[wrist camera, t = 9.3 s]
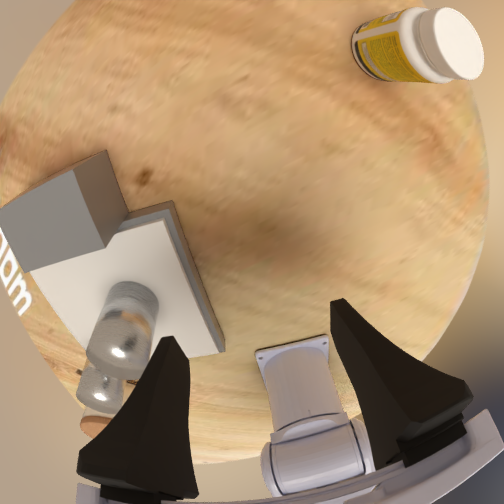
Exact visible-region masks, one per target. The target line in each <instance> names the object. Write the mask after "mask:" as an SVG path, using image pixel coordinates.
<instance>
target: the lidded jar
mask: <svg viewBox="0 0 504 504" xmlns="http://www.w3.org/2000/svg"><path fill="white" fill-rule="evenodd" d="M135 386H136V385H134V384H131V383H128V382H126V387H125V392H124V398H123V403H122V406H123V405H124V403H125V402H126V400H127V399H128V397H129V396H130V394H131V393H132V391H133V389H134V388H135ZM115 415H116V414H106V413H102V412H98V411H96V410H93V409H91V408H89V407H87V406H86V407H85V410H84V413H83V418H82V420H81V423H80V427H81V430H82V431H83V432H84V433H85V434H87V435H88V436H89V437H91V438H93V439H94V438H95V437H96V436H97V435H98V434H99V433H100V432H101V431H102V430H103V429H104V428H105V427H106V426H107V425H108V424H109V422H110V421H111V420H112V419H113V417H114V416H115Z"/></svg>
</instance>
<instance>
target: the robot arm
mask: <svg viewBox="0 0 504 504" xmlns="http://www.w3.org/2000/svg"><path fill="white" fill-rule="evenodd" d="M330 331H331V334H332V337H333V340H334V343H335V347H336V350H337V352H338V354H339V356H340V359H341V361H342V363H343V365H344V367H345V370H346V372H347V374H348V376H349V378H350V381H351V383H352V385H353V387H354V390H355V392H356V395H357V398H358V401H359V405H360V408H361V411H362V415H363V418H364V422H365V425H364V424H363V422H362V421H361V420H358V419H357V418H352V419H350V422H349V419H348V416H347V413H346V412H344V410H343V407H342V404H341V401H340V398H339V395H338V392H337V389H336V386H335V383H334V380H333V377H332V374H331V372H330V369H329V366H328V354H329V338H328V336H327V335H323V336H319V337H315V338H311V339H307V340H303V341H299V342H295V343H291V344H287V345H282V346H278V347H273V348H268V349H264V350H259V351H257V352H256V353H255V357H256V360H257V363H258V366H259V369H260V372H261V375H262V378H263V381H264V383H265V386H266V389H267V392H268V397H269V403H270V409H271V415H272V421H273V427H274V433H271V434H270V437H271V442H267V443H266V444H265V446H264V448H263V449H262V451H261V457H260V458H261V459H260V461H261V469H262V475H263V478H264V481H265V484H266V486H267V488H268V490H269V491H270V492H271V494H272V497H273V498H266V499H259V500H248V501H235V502H209V503H208V502H205V503H204V502H177V501H176V500H183V499H184V498H186V499H195V498H196V497H197V496H198V495H199V492H198V488H197V483H196V479H195V475H194V469H193V463H192V457H191V450H190V441H189V429H188V416H189V397H190V365H189V360H188V358H187V357H186V355H185V353H184V352H183V350H182V349H181V347H180V346H179V344H178V342H177V341H176V339H175V337H174V336H166V337H161V339H160V341H159V343H158V345H157V347H156V348H155V350H154V352H153V354H152V356H151V358H150V360H149V362H148V364H147V366H146V368H145V370H144V372H143V374H142V375H141V377H140V379H139V381H138V382H137V384H136V386H135V388H134V389H133V391H132V393H131V394H130V396H129V397H128V399H127V400H126V402H125V403H124V405H123V406H122V407H121V409H120V410H119V411H118V413H117V414H116V415H115V416H114V417H113V419H112V420H111V421H110V422H109V424H108V425H107V426H106V427H105V428H104V429H103V430H102V431H101V432H100V433H99V434H98V435H97V436H96V437H95V438H94V439H93V440H92V441H90V442H89V443H88V444H87V445H86V446H84V447H83V448H82V449H81V450H80V451H79V457H78V463H77V473H78V475H80V476H82V477H84V478H86V479H89V480H91V481H93V482H96V483H98V484H101V488H96V487H93V486H89V485H85V484H82V483H78V484H77V495H76V504H431V503H433V502H434V501H436V500H438V499H439V498H441V497H442V496H444V495H445V494H447V493H448V492H450V491H451V490H453V489H454V488H455V487H457V486H458V485H460V484H461V483H463V482H464V481H465V480H467V479H468V478H469V477H471V476H472V475H473V474H475V473H476V472H477V471H478V470H480V469H481V468H482V467H483V466H485V465H486V464H487V463H488V462H490V461H491V460H492V459H493V458H495V457H496V456H497V455H498V454H499V453H500V452H502V451H503V450H504V444H503V441H502V439H501V437H500V435H499V432H498V430H497V428H496V426H495V424H494V422H493V419H492V418H491V415H490V413H489V411H488V409H485V410H483V411H482V412H481V413H479V414H478V415H477V416H475V417H474V418H472V419H471V420H469V421H468V422H467V423H465V424H464V425H463V423H462V420H463V419H464V417H463V415H462V413H461V412H462V411H463V410H464V409H465V408H466V407H467V406H468V405H469V404H470V402H471V401H472V400H473V397H474V396H473V394H472V392H471V390H470V389H469V387H468V385H467V384H466V383H465V381H464V380H461V379H458V378H456V377H453V376H450V375H447V374H445V373H443V372H440V371H438V370H436V369H434V368H432V367H430V366H428V365H427V364H425V363H423V362H421V361H419V360H417V359H416V358H414V357H412V356H411V355H409V354H408V353H406V352H405V351H403V350H402V349H400V348H399V347H397V346H396V345H395V344H393V343H392V342H391V341H389V340H388V339H387V338H386V337H384V336H383V335H382V334H381V333H380V332H378V331H377V330H376V329H375V328H374V327H373V326H372V325H371V324H369V323H368V322H367V321H366V320H365V319H364V318H363V317H362V316H361V315H360V314H359V313H358V312H357V311H356V310H355V309H354V308H353V307H352V306H351V305H350V304H349V303H348V302H347V301H346V300H345V299H344V298H342V299H338V300H335V301H331V302H330ZM365 426H366V428H365ZM377 484H378V485H377ZM376 485H377V487H376V489H375V490H374V491H372V490H373V489H374V487H375V486H376Z"/></svg>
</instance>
